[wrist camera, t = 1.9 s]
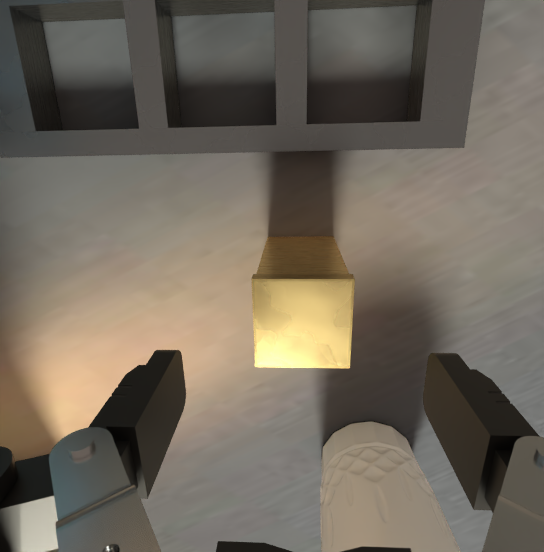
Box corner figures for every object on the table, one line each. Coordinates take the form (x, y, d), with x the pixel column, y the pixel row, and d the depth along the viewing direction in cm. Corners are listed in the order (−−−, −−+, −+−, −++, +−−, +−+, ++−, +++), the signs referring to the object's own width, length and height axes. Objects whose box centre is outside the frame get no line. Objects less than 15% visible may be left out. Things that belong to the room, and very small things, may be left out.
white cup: (415, 407, 26) (482, 552, 17) (422, 490, 29) (484, 657, 19) (305, 420, 27) (311, 565, 18) (321, 499, 30) (334, 664, 20)
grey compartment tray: (467, -28, 18) (492, -53, 16) (445, 147, 21) (464, 147, 18) (-5, -4, 19) (-45, -24, 17) (30, 156, 22) (0, 157, 20)
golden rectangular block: (334, 234, 23) (354, 279, 15) (332, 298, 24) (349, 368, 16) (266, 235, 23) (251, 279, 15) (267, 298, 24) (255, 366, 17)
